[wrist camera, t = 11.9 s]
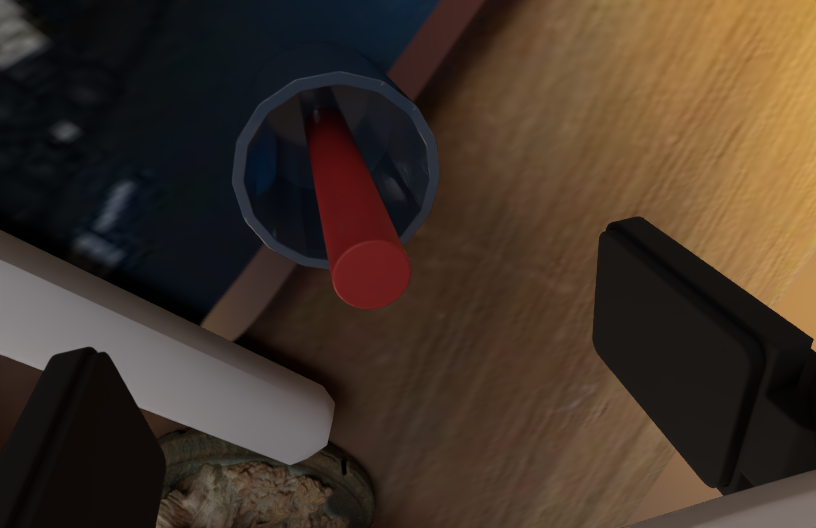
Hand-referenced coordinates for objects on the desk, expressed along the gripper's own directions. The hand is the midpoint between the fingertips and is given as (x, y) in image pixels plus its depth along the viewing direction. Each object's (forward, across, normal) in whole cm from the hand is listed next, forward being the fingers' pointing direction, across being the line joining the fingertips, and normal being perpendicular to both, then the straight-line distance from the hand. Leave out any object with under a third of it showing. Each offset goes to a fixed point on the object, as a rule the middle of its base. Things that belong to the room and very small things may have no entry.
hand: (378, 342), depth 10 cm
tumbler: (+18, 0, +1) cm, 18 cm away
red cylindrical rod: (+17, 0, +1) cm, 17 cm away
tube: (+18, +12, +9) cm, 23 cm away
